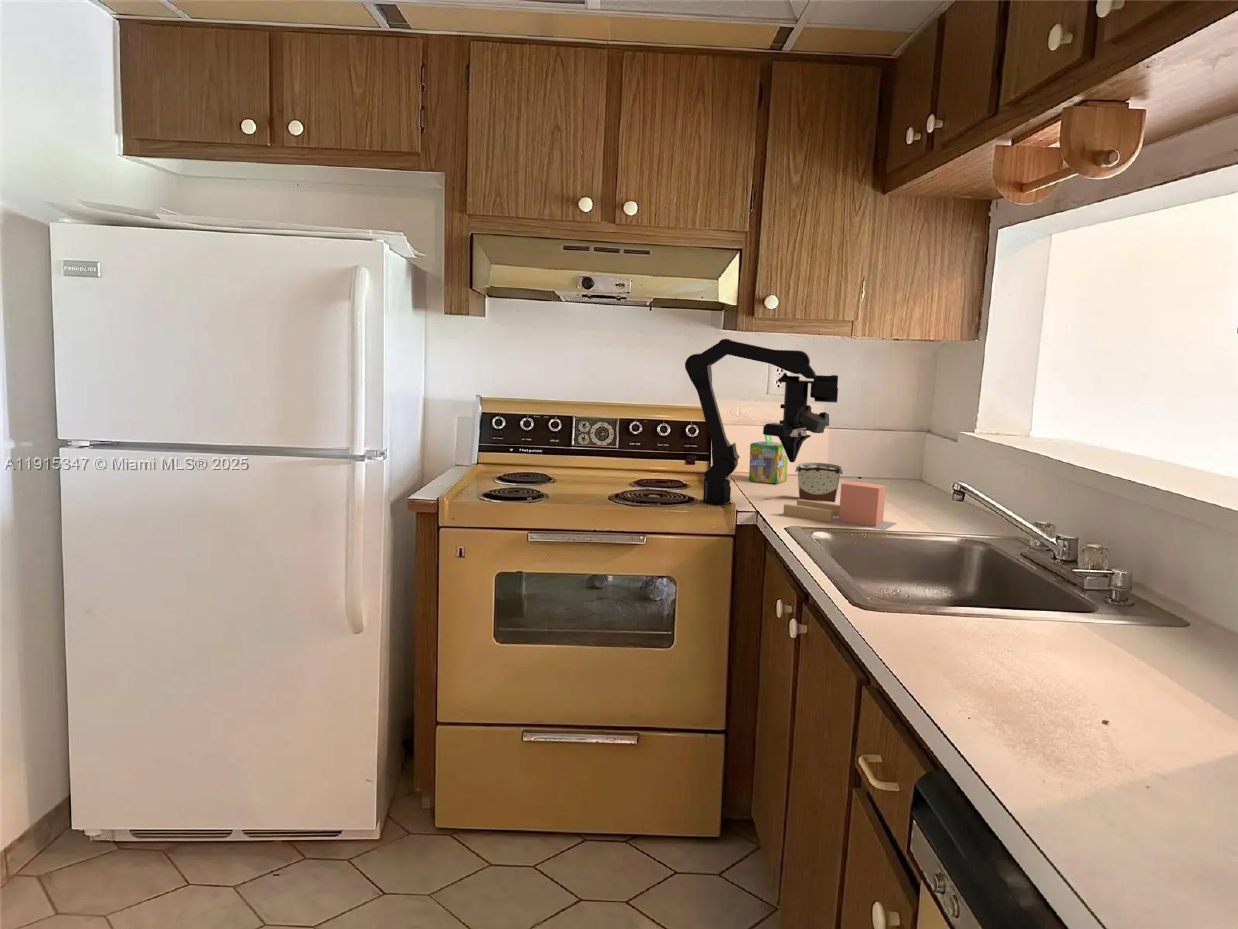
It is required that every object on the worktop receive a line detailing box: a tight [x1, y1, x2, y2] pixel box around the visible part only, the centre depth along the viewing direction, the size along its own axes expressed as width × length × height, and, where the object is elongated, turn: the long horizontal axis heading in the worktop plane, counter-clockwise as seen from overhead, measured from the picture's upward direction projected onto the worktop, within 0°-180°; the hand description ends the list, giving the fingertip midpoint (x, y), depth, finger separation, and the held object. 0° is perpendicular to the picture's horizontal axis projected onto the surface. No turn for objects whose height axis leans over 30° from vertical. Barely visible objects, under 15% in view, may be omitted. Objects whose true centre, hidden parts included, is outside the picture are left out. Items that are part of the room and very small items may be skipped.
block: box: [839, 480, 887, 526], centre depth 213 cm, size 9×5×9 cm, turn 56°
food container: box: [795, 462, 843, 503], centre depth 242 cm, size 12×6×10 cm, turn 84°
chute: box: [780, 498, 898, 531], centre depth 217 cm, size 26×10×3 cm, turn 56°
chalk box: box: [748, 435, 789, 485], centre depth 271 cm, size 9×9×15 cm
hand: (792, 462), depth 229 cm, fingers closed
